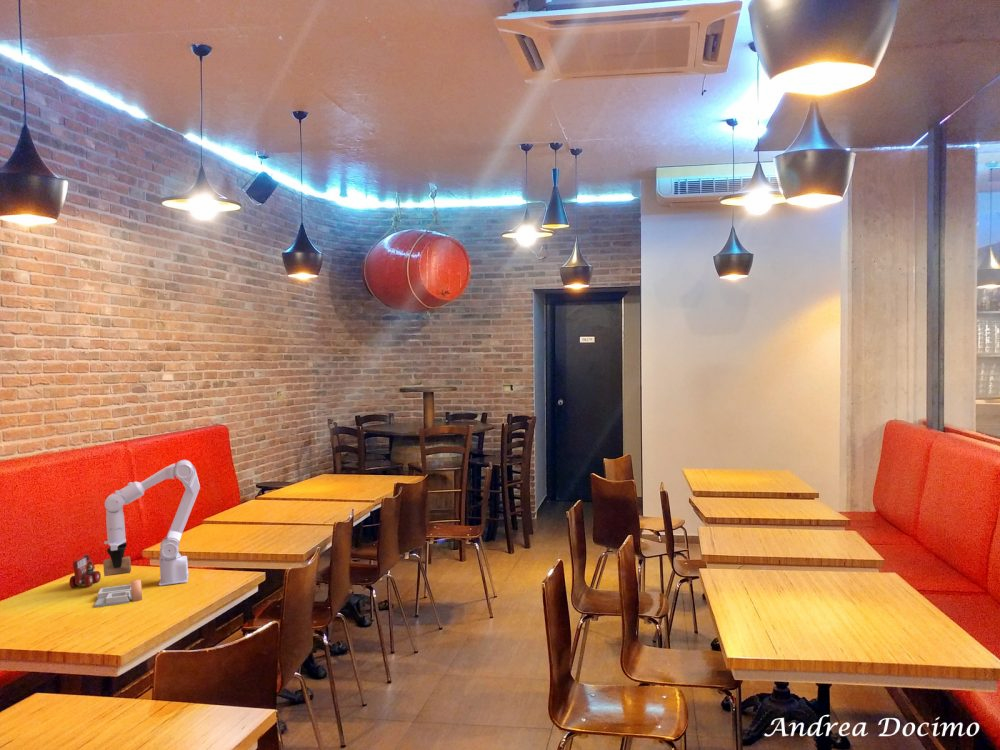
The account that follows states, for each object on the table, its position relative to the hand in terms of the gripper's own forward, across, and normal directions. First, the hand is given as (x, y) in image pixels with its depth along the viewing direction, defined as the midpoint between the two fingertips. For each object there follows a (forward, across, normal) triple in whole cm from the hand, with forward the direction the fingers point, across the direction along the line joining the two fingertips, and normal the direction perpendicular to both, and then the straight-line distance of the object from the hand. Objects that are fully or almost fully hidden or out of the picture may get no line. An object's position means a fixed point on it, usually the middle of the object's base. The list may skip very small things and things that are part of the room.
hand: (118, 566), depth 277 cm
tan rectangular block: (+3, 0, 0) cm, 3 cm away
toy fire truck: (+8, -13, -13) cm, 20 cm away
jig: (+8, +12, 0) cm, 15 cm away
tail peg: (+8, +16, +7) cm, 20 cm away
